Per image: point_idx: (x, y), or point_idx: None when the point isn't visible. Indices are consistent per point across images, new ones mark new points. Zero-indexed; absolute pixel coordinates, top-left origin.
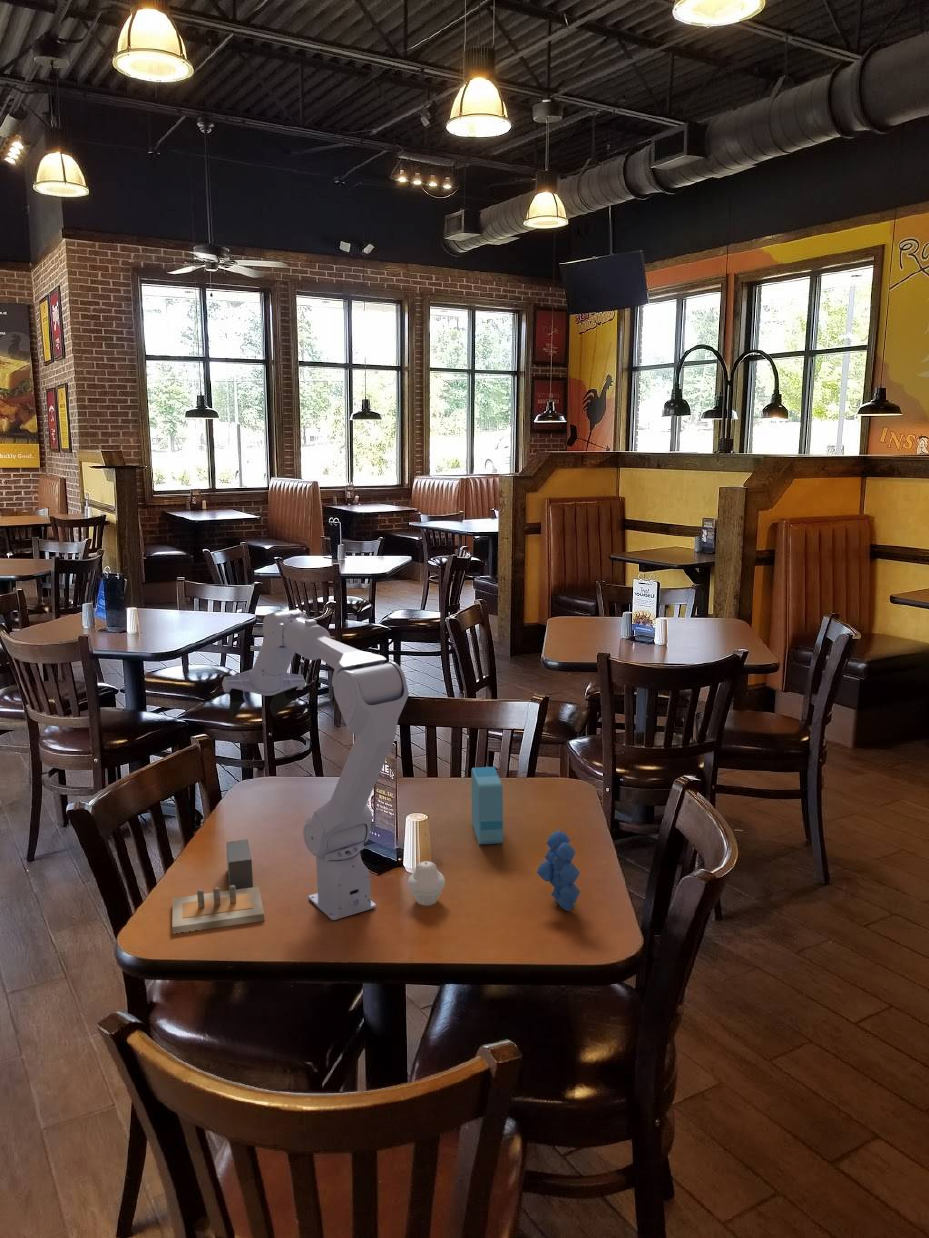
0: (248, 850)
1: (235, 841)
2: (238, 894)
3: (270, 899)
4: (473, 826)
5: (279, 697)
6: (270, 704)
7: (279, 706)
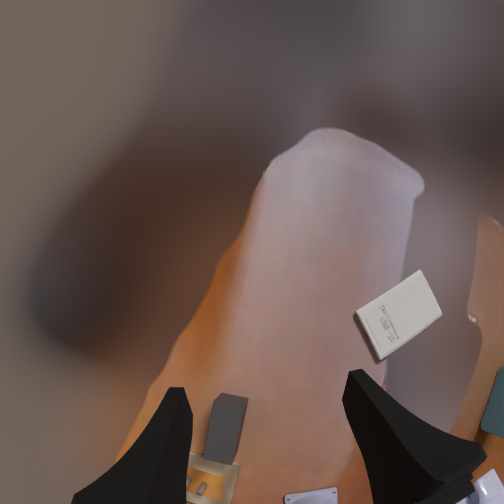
0: (235, 441)
1: (225, 405)
2: (213, 471)
3: (247, 479)
4: (495, 381)
5: (380, 474)
6: (355, 381)
7: (365, 462)
